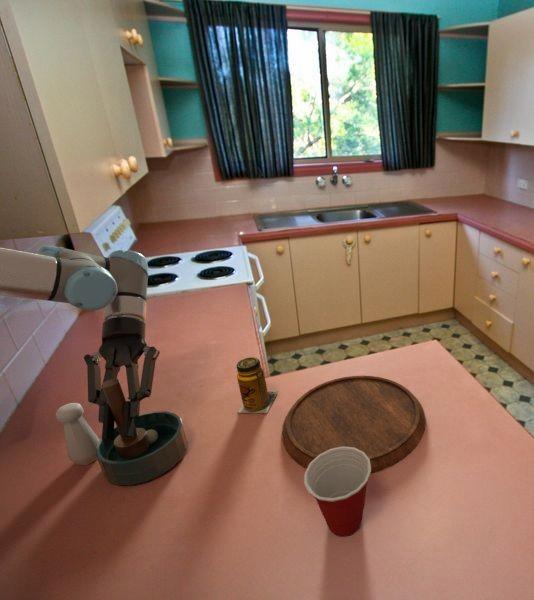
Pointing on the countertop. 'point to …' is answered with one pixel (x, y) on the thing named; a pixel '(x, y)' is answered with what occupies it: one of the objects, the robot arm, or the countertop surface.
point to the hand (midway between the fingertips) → (117, 438)
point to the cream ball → (152, 435)
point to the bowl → (153, 459)
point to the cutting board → (355, 421)
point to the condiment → (253, 387)
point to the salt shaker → (77, 434)
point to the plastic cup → (340, 487)
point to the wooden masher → (123, 445)
